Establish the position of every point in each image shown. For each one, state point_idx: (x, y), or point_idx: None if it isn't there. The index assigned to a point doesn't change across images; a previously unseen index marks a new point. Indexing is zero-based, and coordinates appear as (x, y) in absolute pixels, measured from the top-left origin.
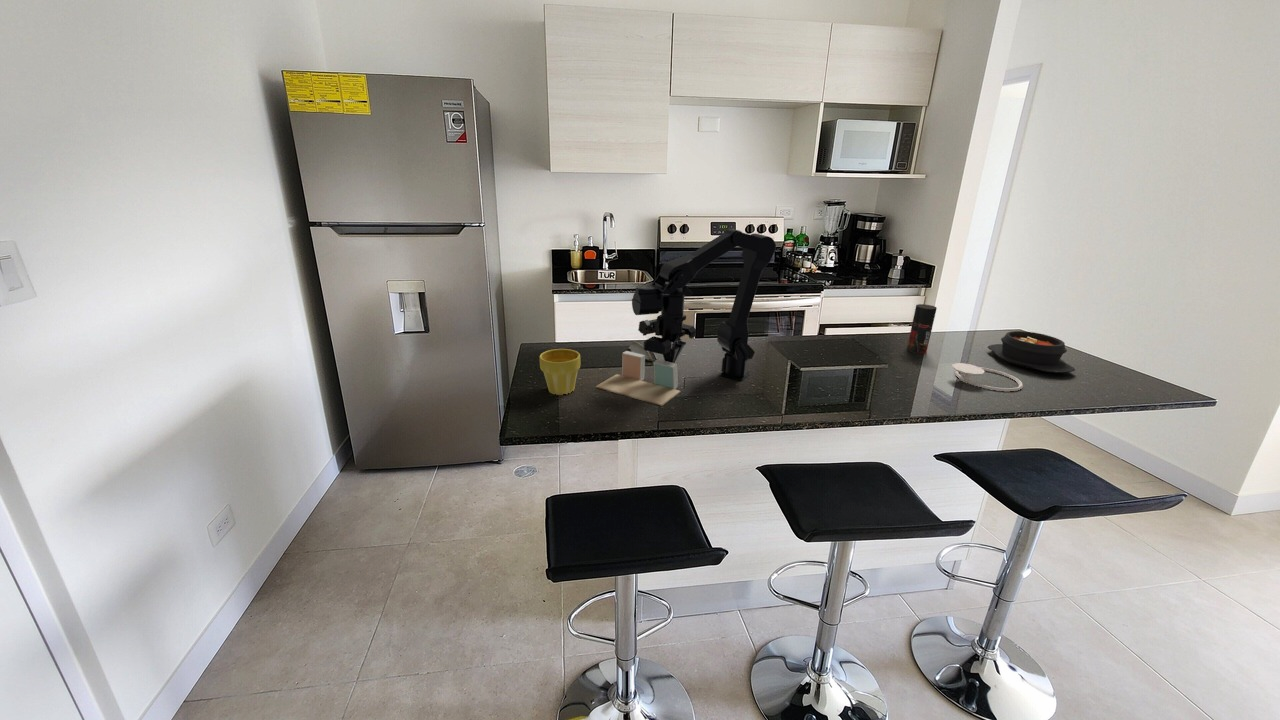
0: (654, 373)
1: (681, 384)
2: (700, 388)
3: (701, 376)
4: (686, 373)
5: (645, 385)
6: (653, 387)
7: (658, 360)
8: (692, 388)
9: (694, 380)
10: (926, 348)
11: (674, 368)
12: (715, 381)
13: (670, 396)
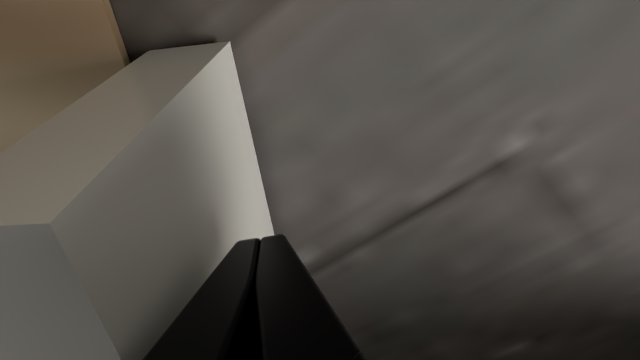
0: (64, 116)
1: (355, 222)
2: (383, 343)
3: (618, 236)
4: (634, 107)
5: (2, 10)
6: (52, 114)
7: (31, 276)
8: (344, 312)
9: (502, 244)
10: None
11: None
12: (566, 341)
13: None
